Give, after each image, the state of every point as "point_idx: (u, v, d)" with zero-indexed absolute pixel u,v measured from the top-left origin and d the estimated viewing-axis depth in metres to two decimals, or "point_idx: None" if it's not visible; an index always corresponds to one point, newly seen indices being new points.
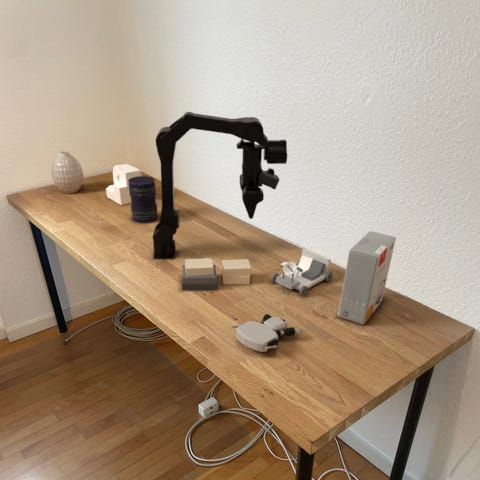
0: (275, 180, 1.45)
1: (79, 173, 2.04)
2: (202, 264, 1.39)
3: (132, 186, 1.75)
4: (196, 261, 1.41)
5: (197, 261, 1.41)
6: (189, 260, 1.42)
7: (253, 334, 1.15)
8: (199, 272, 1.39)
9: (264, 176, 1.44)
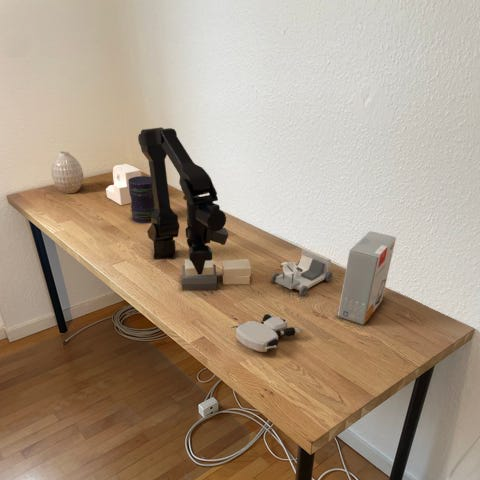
0: (224, 236, 1.34)
1: (79, 173, 2.04)
2: None
3: (132, 186, 1.75)
4: None
5: None
6: (189, 260, 1.42)
7: (253, 334, 1.15)
8: None
9: (212, 232, 1.33)
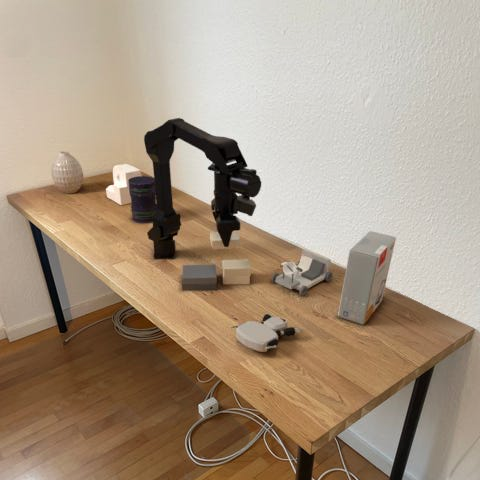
0: (251, 206, 1.31)
1: (79, 173, 2.04)
2: None
3: (132, 186, 1.75)
4: None
5: None
6: (215, 233, 1.39)
7: (253, 334, 1.15)
8: None
9: (239, 202, 1.30)
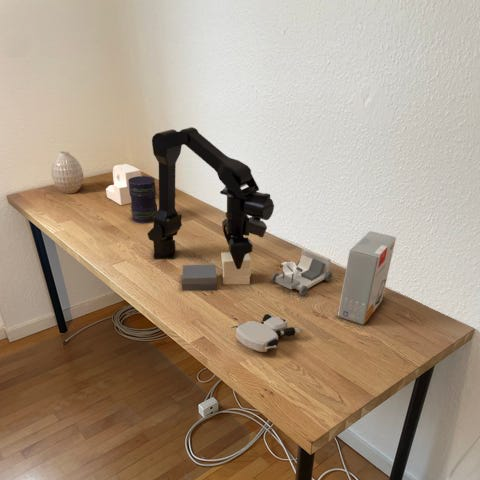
0: (263, 228, 1.36)
1: (79, 173, 2.04)
2: None
3: (132, 186, 1.75)
4: None
5: None
6: (226, 253, 1.43)
7: (253, 334, 1.15)
8: None
9: (251, 224, 1.35)
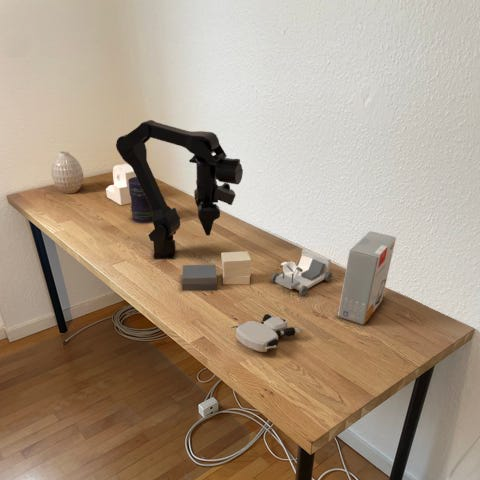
0: (231, 196, 1.41)
1: (79, 173, 2.04)
2: (239, 257, 1.41)
3: (132, 186, 1.75)
4: (233, 254, 1.43)
5: (233, 254, 1.43)
6: (226, 253, 1.43)
7: (253, 334, 1.15)
8: (237, 265, 1.40)
9: (220, 192, 1.40)
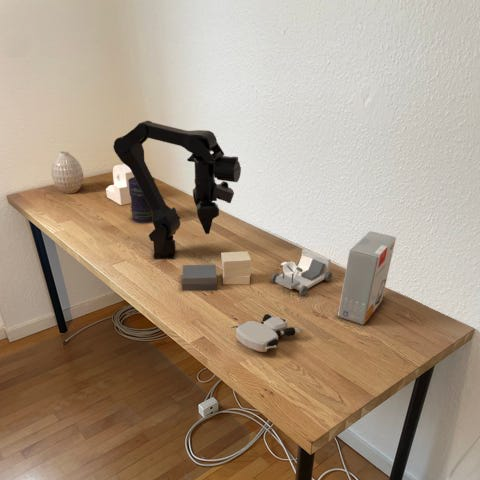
0: (230, 194, 1.41)
1: (79, 173, 2.04)
2: (239, 257, 1.41)
3: (132, 186, 1.75)
4: (233, 254, 1.43)
5: (233, 254, 1.43)
6: (226, 253, 1.43)
7: (253, 334, 1.15)
8: (237, 265, 1.40)
9: (218, 190, 1.40)
